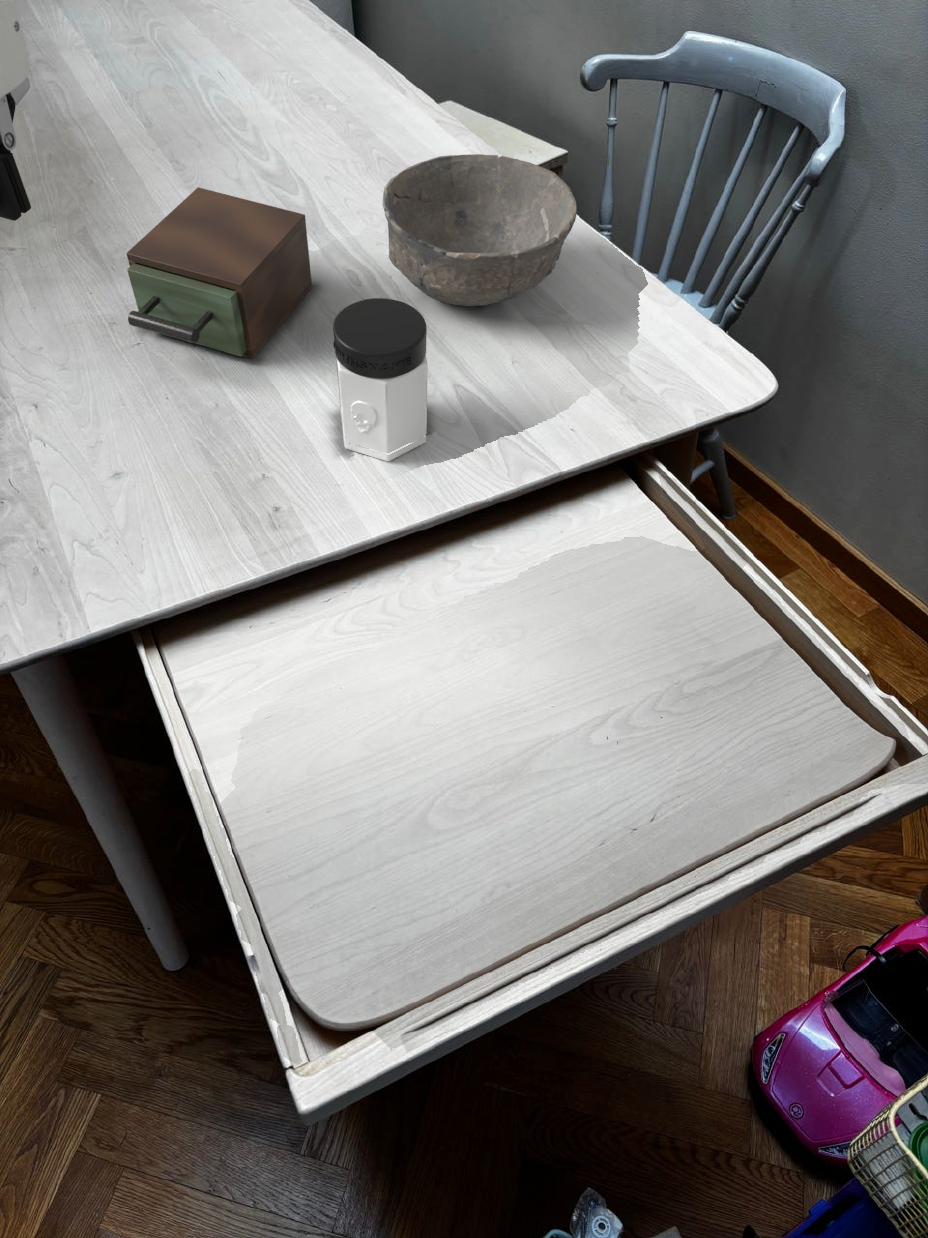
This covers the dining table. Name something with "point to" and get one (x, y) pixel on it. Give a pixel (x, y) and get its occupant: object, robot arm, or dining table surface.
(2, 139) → the robot arm
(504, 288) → the bowl
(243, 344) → the drawer
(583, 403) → the dining table surface
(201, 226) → the cabinet
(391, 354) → the jar
